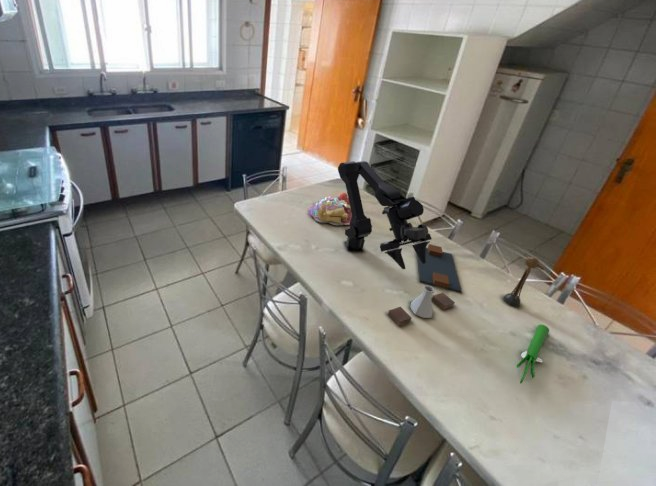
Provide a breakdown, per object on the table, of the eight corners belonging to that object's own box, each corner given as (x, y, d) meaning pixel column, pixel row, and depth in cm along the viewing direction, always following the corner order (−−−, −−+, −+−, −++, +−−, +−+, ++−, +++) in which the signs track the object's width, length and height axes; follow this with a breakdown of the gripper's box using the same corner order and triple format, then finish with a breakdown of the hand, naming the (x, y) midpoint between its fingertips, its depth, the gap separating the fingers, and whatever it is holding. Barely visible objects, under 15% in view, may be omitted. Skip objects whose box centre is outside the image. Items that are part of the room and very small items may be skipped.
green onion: (533, 328, 109) (508, 380, 91) (538, 321, 108) (513, 372, 89) (551, 338, 106) (529, 394, 87) (556, 331, 105) (535, 386, 86)
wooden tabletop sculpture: (525, 306, 117) (550, 262, 108) (518, 310, 115) (543, 266, 106) (507, 295, 122) (529, 251, 113) (500, 299, 120) (523, 255, 111)
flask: (435, 320, 109) (444, 298, 105) (412, 316, 110) (420, 294, 106) (429, 304, 116) (437, 283, 111) (407, 300, 117) (415, 279, 112)
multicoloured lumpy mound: (360, 228, 158) (364, 211, 154) (311, 225, 158) (314, 209, 154) (348, 203, 180) (351, 188, 176) (305, 200, 180) (307, 185, 176)
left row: (387, 314, 111) (389, 310, 110) (441, 296, 120) (442, 292, 119) (398, 326, 107) (400, 321, 106) (453, 306, 115) (454, 302, 115)
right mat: (419, 282, 126) (421, 277, 124) (416, 246, 147) (417, 241, 145) (460, 293, 121) (463, 287, 120) (450, 254, 142) (453, 249, 141)
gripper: (393, 222, 107) (410, 269, 103) (435, 213, 114) (452, 257, 109) (372, 229, 117) (387, 273, 113) (412, 220, 124) (427, 261, 119)
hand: (414, 266), depth 113 cm, fingers open, 9 cm apart
